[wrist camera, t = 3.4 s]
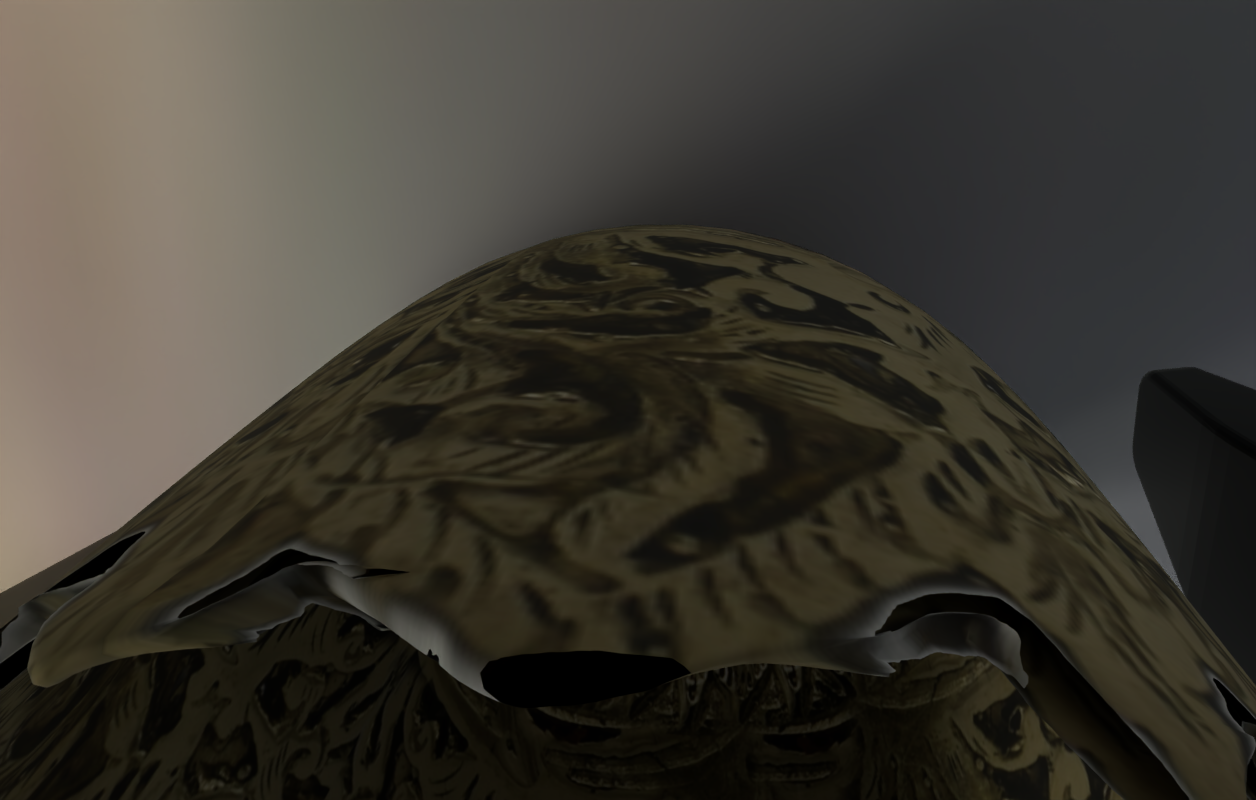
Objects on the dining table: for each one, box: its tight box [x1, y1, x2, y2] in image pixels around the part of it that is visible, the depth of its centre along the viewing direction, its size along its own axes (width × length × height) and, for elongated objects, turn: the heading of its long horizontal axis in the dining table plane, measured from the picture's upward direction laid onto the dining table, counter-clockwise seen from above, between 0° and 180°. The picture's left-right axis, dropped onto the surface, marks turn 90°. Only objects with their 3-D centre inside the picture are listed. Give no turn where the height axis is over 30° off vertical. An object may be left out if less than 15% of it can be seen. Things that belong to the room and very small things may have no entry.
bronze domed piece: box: [0, 225, 1256, 800], centre depth 7 cm, size 8×7×8 cm
